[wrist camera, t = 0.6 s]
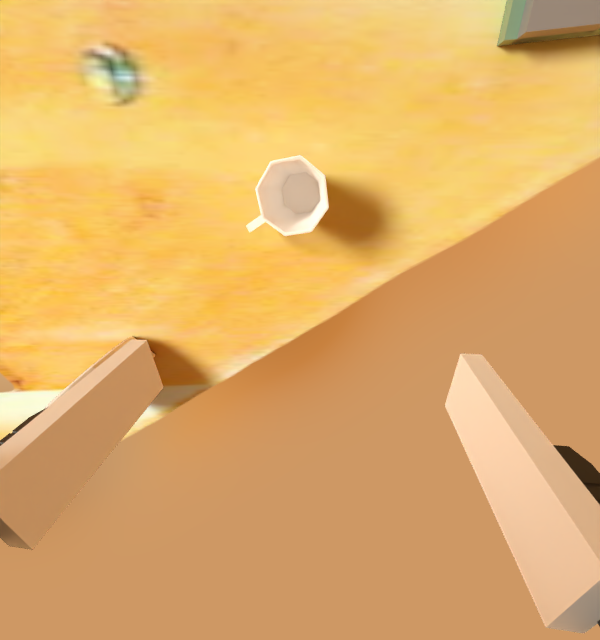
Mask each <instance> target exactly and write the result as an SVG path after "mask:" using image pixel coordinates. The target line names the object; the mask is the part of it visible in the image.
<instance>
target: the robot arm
mask: <svg viewBox="0 0 600 640" xmlns="http://www.w3.org/2000/svg"><path fill="white" fill-rule="evenodd" d="M163 388H164V387H163V384H162V381H161V378H160V376H159V373H158V370H157V367H156V364H155V361H154V358H153V356H152V353H151V350H150V347H149V344H148V341H147V340H133V339H131V340H130V341H129V342H128V343H126V344H125V345H124V346H123V347H121V348H120V349H119V350H118V351H116V352H115V353H114V354H113V355H112V356H110V357H109V358H108V359H107V360H105V361H104V362H103V363H102V364H101V365H99V366H98V367H97V368H96V369H94V370H93V371H92V372H91V373H89V374H88V375H87V376H86V377H85V378H83V379H82V380H81V381H80V382H78V383H77V384H76V385H75V386H74V387H72V388H71V389H70V390H69V391H67V392H66V393H65V394H64V395H62V396H61V397H60V398H59V399H58V400H56V401H55V402H54V403H53V404H51V405H50V406H49V407H47V408H45V409H43V410H42V411H40V412H38V413H36V414H35V415H33V416H31V417H29V418H28V419H27V420H26V421H24V422H23V423H22V424H21V425H19V426H18V427H17V428H16V429H14V430H13V432H12V433H11V434H10V433H9V434H8V435H7V436H6V437H4V438H3V439H2V440H0V538H1V539H2V540H3V541H4V542H5V543H6V544H7V545H9V546H12V547H19V548H25V549H32V550H33V549H34V548H35V546H36V545H37V544H38V542H39V541H40V540H41V539H42V538H43V536H44V535H45V534H46V532H47V531H48V530H49V529H50V528H51V526H52V525H53V524H54V523H55V521H56V520H57V519H58V518H59V516H60V515H61V514H62V513H63V512H64V510H65V509H66V508H67V506H68V505H69V504H70V503H71V502H72V500H73V499H74V498H75V497H76V495H77V494H78V493H79V492H80V490H81V489H82V488H83V487H84V485H85V484H86V483H87V482H88V480H89V479H90V478H91V477H92V476H93V474H94V473H95V472H96V471H97V469H98V468H99V466H101V464H102V463H103V462H104V461H105V459H106V458H107V457H108V456H109V454H110V453H111V452H112V451H113V450H114V448H115V447H116V446H117V445H118V443H119V442H120V441H121V440H122V438H123V437H124V436H125V435H126V433H127V432H128V431H129V430H130V428H131V427H132V426H133V425H134V423H135V422H136V421H137V420H138V419H139V417H140V416H141V415H142V414H143V412H144V411H145V410H146V409H147V407H148V406H149V405H150V404H151V402H152V401H153V400H154V399H155V397H156V396H157V395H158V394H159V392H160V391H161V390H162V389H163ZM445 407H446V409H447V411H448V414H449V416H450V418H451V420H452V422H453V425H454V427H455V429H456V431H457V433H458V435H459V438H460V440H461V442H462V444H463V446H464V449H465V451H466V453H467V455H468V457H469V460H470V462H471V464H472V466H473V468H474V471H475V473H476V475H477V477H478V479H479V482H480V484H481V486H482V488H483V490H484V492H485V495H486V497H487V499H488V501H489V504H490V506H491V508H492V510H493V512H494V515H495V517H496V519H497V521H498V523H499V525H500V528H501V530H502V532H503V534H504V537H505V539H506V541H507V543H508V545H509V547H510V550H511V552H512V554H513V556H514V559H515V560H516V563H517V565H518V567H519V570H520V571H521V574H522V576H523V578H524V581H525V583H526V585H527V587H528V589H529V592H530V594H531V596H532V598H533V600H534V603H535V605H536V607H537V609H538V611H539V614H540V616H541V618H542V620H543V622H544V624H545V627H546V628H553V629H559V630H566V631H572V632H579V633H585V632H587V631H588V630H589V629H591V628H592V627H593V626H595V625H596V624H599V626H600V473H599V472H598V471H597V470H596V469H595V468H594V466H593V465H592V464H591V463H589V462H588V461H587V460H586V459H584V458H583V457H582V456H580V455H579V454H578V453H576V452H575V451H574V450H573V449H571V448H570V447H567V446H555V445H552V443H551V442H550V441H549V440H548V438H547V437H546V436H545V434H544V433H543V432H542V431H541V429H540V428H539V427H538V426H537V424H536V423H535V422H534V421H533V419H532V418H531V417H530V415H529V414H528V413H527V411H525V409H524V408H523V406H522V405H521V404H520V403H519V401H518V400H517V399H516V397H515V396H514V395H513V394H512V392H511V391H510V390H509V388H508V387H507V386H506V385H505V383H504V382H503V381H502V380H501V378H500V377H499V376H498V374H497V373H496V372H495V371H494V369H493V368H492V367H491V366H490V364H489V363H488V362H487V360H486V359H485V358H484V357H483V355H481V354H460V357H459V361H458V364H457V367H456V370H455V374H454V377H453V380H452V384H451V387H450V391H449V394H448V397H447V401H446V404H445Z"/></svg>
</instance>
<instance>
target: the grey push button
mask: <svg viewBox="0 0 600 640" xmlns="http://www.w3.org/2000/svg"><path fill="white" fill-rule="evenodd" d="M599 28H600V0H526V3H525V7H524V11H523V16H522V20H521V24H520V28H519V33H518V37H517V39H516V40H517V41H519V39H520V40H522V38H524V40H525V39H526V38H530V37H532V38H533V37H534V38H535V39H536V38H537V37H539V36H547V37H548V35H557V34H567V33H569V34H570V33H576V32H578V33H579V32H585V31H586V32H588V31H591V32H593V31H594V30H598V29H599ZM588 33H589V32H588ZM585 34H586V33H585ZM576 35H577V34H576ZM581 35H583V34H581ZM586 35H587V34H586ZM562 36H563V35H562ZM572 36H573V34H572ZM547 37H545V38H547ZM549 37H550V36H549ZM555 37H556V36H555ZM539 38H541V37H539ZM543 38H544V37H543ZM543 38H542V39H543ZM552 38H553V37H552ZM530 39H531V38H530ZM550 39H551V38H550ZM516 40H515V41H516ZM524 40H523V41H524ZM538 40H539V39H538ZM544 40H545V39H544ZM557 40H558V39H557ZM529 41H530V40H529ZM524 42H526V41H524ZM535 42H537V41H535ZM538 42H539V41H538ZM512 43H513V44H514V43H515V42H512ZM512 43H511V44H512ZM517 43H518V42H517ZM517 43H515V44H517ZM520 43H521V41H520ZM526 43H527V42H526ZM529 43H530V42H529Z"/></svg>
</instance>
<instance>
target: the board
mask: <svg viewBox="0 0 600 640" xmlns="http://www.w3.org/2000/svg"><path fill="white" fill-rule="evenodd" d="M525 3H526V0H507V2H506V7H505V12H504V16H503V21H502V26H501V31H500V35H499V40H498V45H497V46H502V45H511V43H512V42H515V43H517V42H518V43H517V44H521V43H526V42H527V43H529V42H535V41H537V42H538V41H549V40H557V39H567V38H577V37H586V36H595V35H600V28H599V29H598V30H594V31H593V32H591V31H588V32H589V33H588V32H586V31H585V32H579V33H578V32H576V33H570V34H569V33H567V34H557V35H548V37H547V36H539V37H541V38H539V37H537V38H536V39H535V38H534V37H533V38H532V37H530V38H531V39H530V38H526V39H525V40H524V38H522V40H520V39H519V41H517V40H516V39H517V37H518V33H519V28H520V24H521V20H522V16H523V11H524V7H525ZM585 33H586V34H587V35H586V34H585ZM572 34H573V36H572ZM576 34H577V35H576ZM581 34H583V35H581ZM562 35H563V36H562ZM549 36H550V37H549ZM555 36H556V37H555ZM543 37H544V38H543ZM545 37H547V38H545ZM552 37H553V38H552ZM542 38H543V39H542ZM550 38H551V39H550ZM538 39H539V40H538ZM544 39H545V40H544ZM515 40H516V41H515ZM523 40H524V41H526V42H524V41H523ZM529 40H530V41H529ZM520 41H521V43H520ZM515 43H514V44H515ZM512 44H513V43H512Z"/></svg>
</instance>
